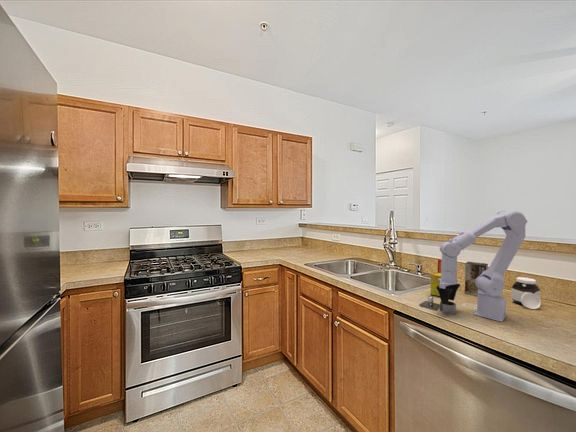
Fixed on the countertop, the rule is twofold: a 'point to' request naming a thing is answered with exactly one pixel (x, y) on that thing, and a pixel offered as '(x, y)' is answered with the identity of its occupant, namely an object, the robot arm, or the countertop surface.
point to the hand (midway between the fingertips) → (447, 301)
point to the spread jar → (526, 293)
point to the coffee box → (473, 276)
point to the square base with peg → (430, 304)
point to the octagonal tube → (448, 308)
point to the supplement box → (435, 284)
